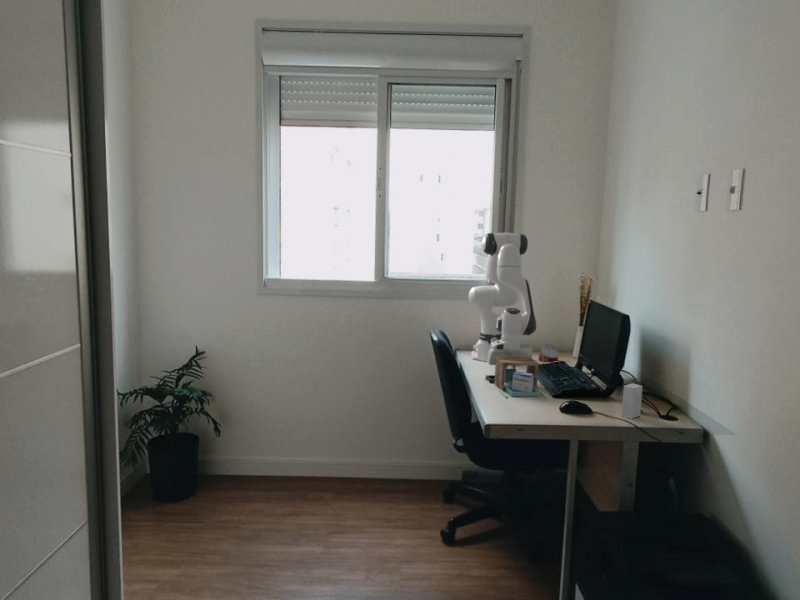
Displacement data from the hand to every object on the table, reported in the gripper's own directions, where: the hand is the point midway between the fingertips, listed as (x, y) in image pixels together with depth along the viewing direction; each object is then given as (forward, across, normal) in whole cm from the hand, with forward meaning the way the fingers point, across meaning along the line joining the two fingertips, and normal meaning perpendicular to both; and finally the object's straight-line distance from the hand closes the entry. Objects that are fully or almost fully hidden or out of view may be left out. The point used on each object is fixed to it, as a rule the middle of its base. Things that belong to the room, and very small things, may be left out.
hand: (509, 374), depth 245 cm
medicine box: (+3, 0, +18) cm, 19 cm away
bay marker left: (+3, +8, +19) cm, 21 cm away
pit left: (+3, +7, -1) cm, 8 cm away
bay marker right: (+3, -8, +19) cm, 21 cm away
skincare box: (+4, -32, +47) cm, 57 cm away
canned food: (+4, -34, -39) cm, 52 cm away
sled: (+3, 0, +12) cm, 12 cm away
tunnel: (+3, 0, +9) cm, 10 cm away
